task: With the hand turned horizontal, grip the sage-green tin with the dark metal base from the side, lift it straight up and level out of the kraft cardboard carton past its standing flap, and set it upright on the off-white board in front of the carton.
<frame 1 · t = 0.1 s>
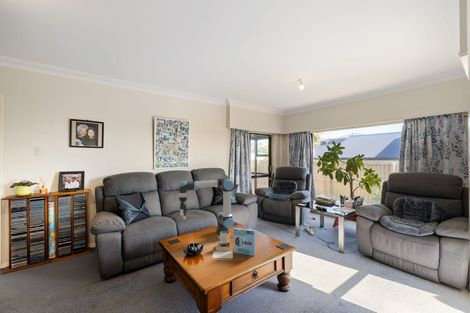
hand: (183, 217, 211), 28 cm above the table, tool pointing down, fingers open, 13 cm apart
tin: (223, 248, 201), point 1 cm above the table, touching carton
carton: (223, 249, 201), on the table
gum box: (244, 253, 192), on the table
board: (222, 255, 188), on the table
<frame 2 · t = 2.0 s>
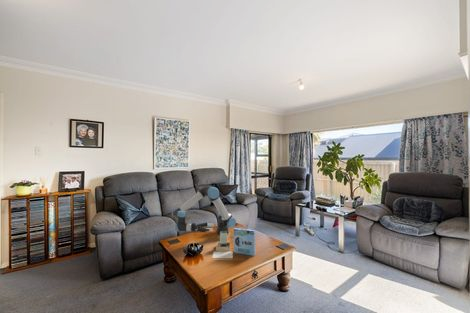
hand: (213, 227, 201), 21 cm above the table, tool horizontal, fingers open, 13 cm apart
nothing on the table moved.
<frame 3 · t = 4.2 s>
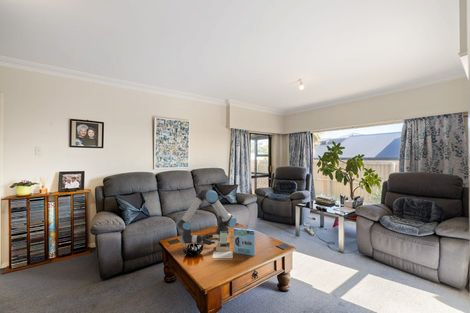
hand: (218, 239, 201), 10 cm above the table, tool horizontal, fingers open, 13 cm apart
nothing on the table moved.
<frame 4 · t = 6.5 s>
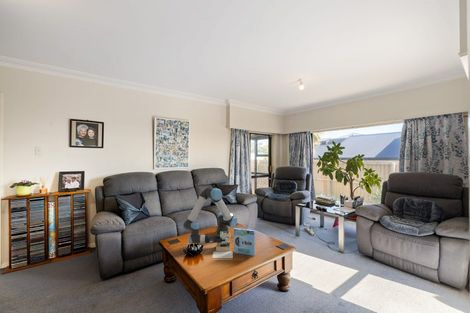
hand: (228, 238, 201), 10 cm above the table, tool horizontal, fingers closed on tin, 5 cm apart
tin: (223, 248, 201), point 1 cm above the table, touching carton, gripper
everything else where it was.
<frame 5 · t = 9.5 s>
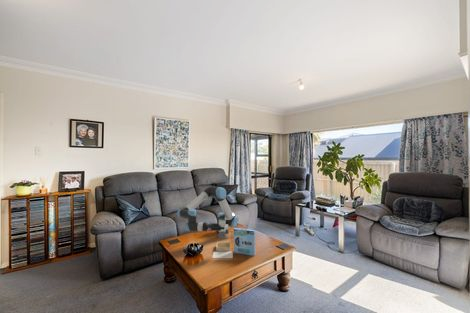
hand: (227, 226, 190), 26 cm above the table, tool horizontal, fingers closed on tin, 5 cm apart
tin: (222, 237, 190), point 16 cm above the table, touching gripper
everything else where it was.
when the fingers open (11 cm above the table, at t = 12.7 s): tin drops 1 cm, resting on board.
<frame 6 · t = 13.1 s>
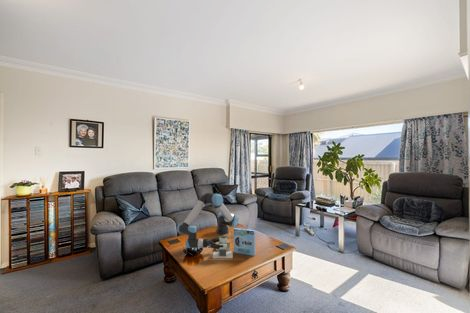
hand: (227, 243, 188), 11 cm above the table, tool horizontal, fingers open, 11 cm apart
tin: (222, 254, 188), point 1 cm above the table, touching board
everything else where it was.
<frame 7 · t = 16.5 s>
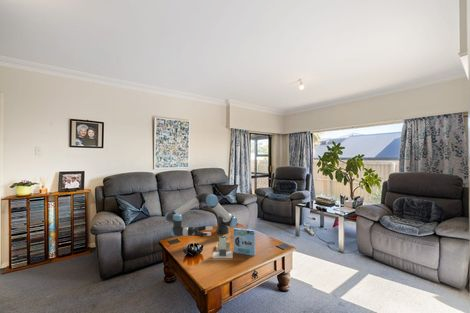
hand: (211, 230, 188), 23 cm above the table, tool horizontal, fingers open, 13 cm apart
nothing on the table moved.
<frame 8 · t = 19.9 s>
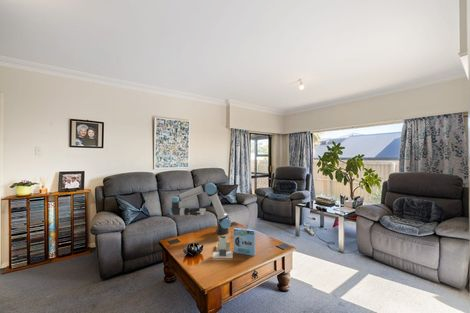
hand: (204, 211, 218), 32 cm above the table, tool horizontal, fingers open, 13 cm apart
nothing on the table moved.
at the end: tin inside the target area on the board (0.1 cm from its centre), point 0.8 cm above the board's base; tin tilted 0°; the gripper is holding nothing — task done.
